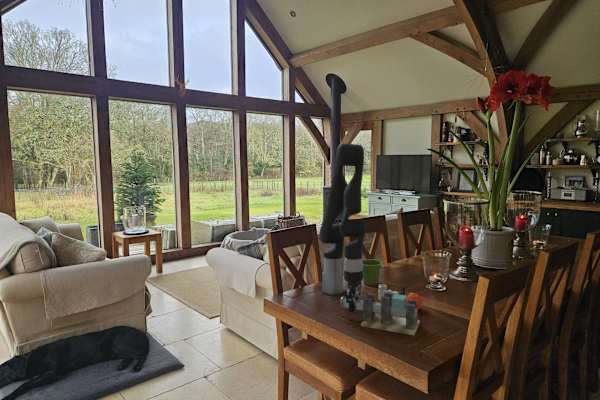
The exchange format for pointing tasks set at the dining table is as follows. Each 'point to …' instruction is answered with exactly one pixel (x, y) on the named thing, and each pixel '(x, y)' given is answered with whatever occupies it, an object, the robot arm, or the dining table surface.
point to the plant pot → (371, 271)
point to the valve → (383, 288)
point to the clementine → (415, 297)
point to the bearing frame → (387, 320)
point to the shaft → (374, 307)
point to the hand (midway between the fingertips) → (353, 309)
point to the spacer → (399, 301)
